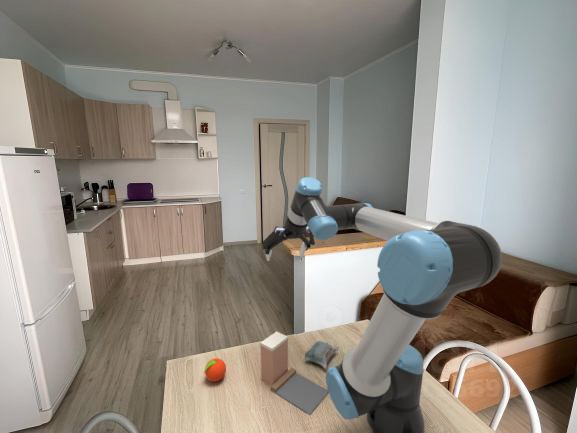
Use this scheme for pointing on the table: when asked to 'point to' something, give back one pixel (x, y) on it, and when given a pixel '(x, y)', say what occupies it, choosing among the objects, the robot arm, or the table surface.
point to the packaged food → (320, 353)
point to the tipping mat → (299, 391)
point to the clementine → (215, 369)
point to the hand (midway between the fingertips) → (284, 256)
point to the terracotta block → (274, 358)
